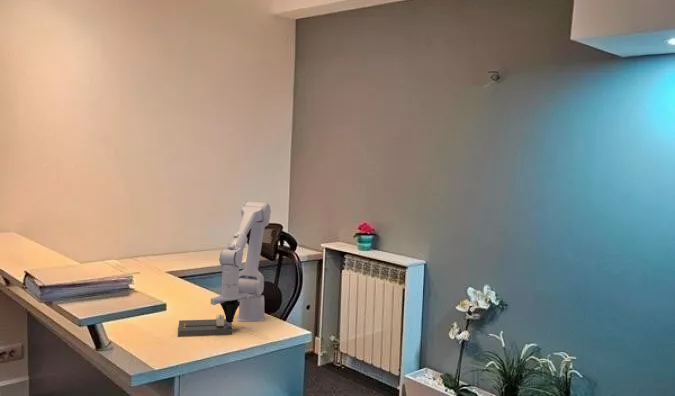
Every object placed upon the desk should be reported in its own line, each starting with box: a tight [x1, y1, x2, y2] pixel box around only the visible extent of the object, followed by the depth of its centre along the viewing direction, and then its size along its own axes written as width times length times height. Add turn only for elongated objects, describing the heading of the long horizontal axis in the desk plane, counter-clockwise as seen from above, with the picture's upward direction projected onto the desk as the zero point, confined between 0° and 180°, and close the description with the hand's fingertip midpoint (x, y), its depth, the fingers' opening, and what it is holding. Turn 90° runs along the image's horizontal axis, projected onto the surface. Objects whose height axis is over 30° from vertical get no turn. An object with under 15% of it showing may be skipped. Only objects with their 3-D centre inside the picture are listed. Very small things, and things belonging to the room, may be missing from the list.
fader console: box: [177, 318, 233, 338], centre depth 205 cm, size 18×12×2 cm, turn 103°
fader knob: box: [215, 314, 225, 326], centre depth 205 cm, size 2×5×3 cm, turn 13°
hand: (229, 321), depth 206 cm, fingers closed
